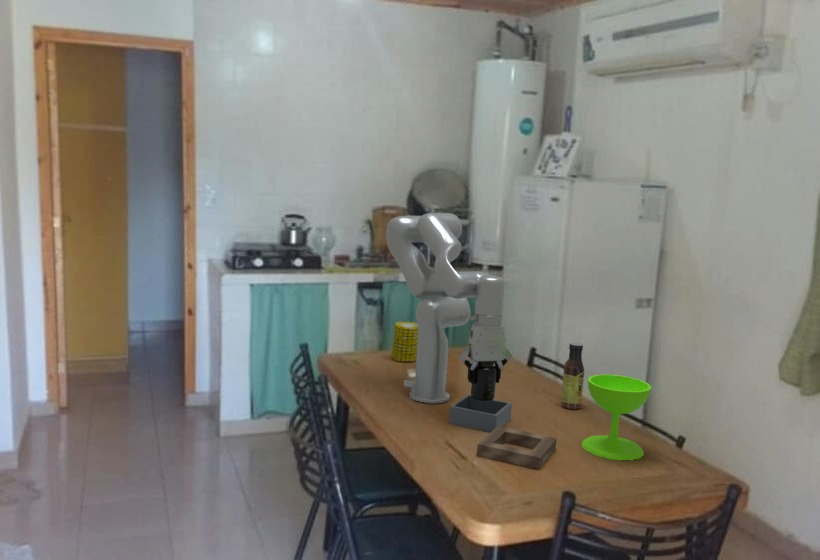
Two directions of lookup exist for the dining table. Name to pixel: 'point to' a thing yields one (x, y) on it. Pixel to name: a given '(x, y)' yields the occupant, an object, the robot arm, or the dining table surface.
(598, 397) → the wineglass
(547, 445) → the socket block
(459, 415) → the bin
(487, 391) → the supplement bottle
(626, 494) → the dining table surface
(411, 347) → the food
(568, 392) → the sauce bottle
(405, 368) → the dining table surface
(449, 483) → the dining table surface
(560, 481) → the dining table surface
